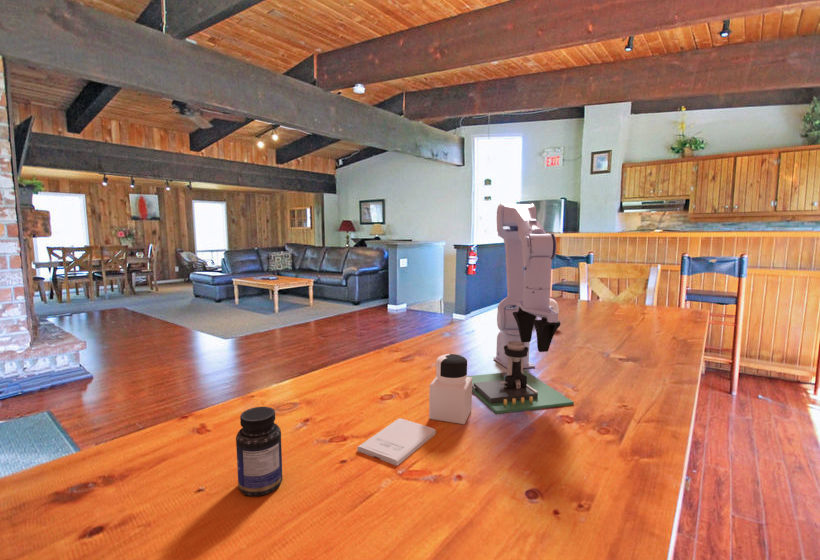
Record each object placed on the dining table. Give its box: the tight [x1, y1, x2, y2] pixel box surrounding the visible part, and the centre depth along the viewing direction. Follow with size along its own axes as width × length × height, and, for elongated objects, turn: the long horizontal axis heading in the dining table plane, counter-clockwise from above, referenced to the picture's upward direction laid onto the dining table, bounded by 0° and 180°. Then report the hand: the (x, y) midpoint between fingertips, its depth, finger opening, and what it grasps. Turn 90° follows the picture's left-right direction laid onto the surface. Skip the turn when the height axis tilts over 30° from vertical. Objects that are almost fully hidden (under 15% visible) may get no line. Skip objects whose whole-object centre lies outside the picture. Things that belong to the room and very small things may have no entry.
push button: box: [499, 341, 530, 389], centre depth 95 cm, size 7×5×10 cm
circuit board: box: [467, 370, 575, 415], centre depth 98 cm, size 20×18×2 cm
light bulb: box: [549, 297, 560, 314], centre depth 158 cm, size 7×7×11 cm
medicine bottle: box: [428, 353, 473, 425], centre depth 85 cm, size 7×7×12 cm
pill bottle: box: [235, 406, 283, 497], centre depth 61 cm, size 6×6×11 cm
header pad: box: [474, 380, 538, 404], centre depth 95 cm, size 9×11×2 cm
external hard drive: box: [356, 417, 437, 467], centre depth 75 cm, size 2×8×12 cm
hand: (534, 346), depth 97 cm, fingers open, 7 cm apart
